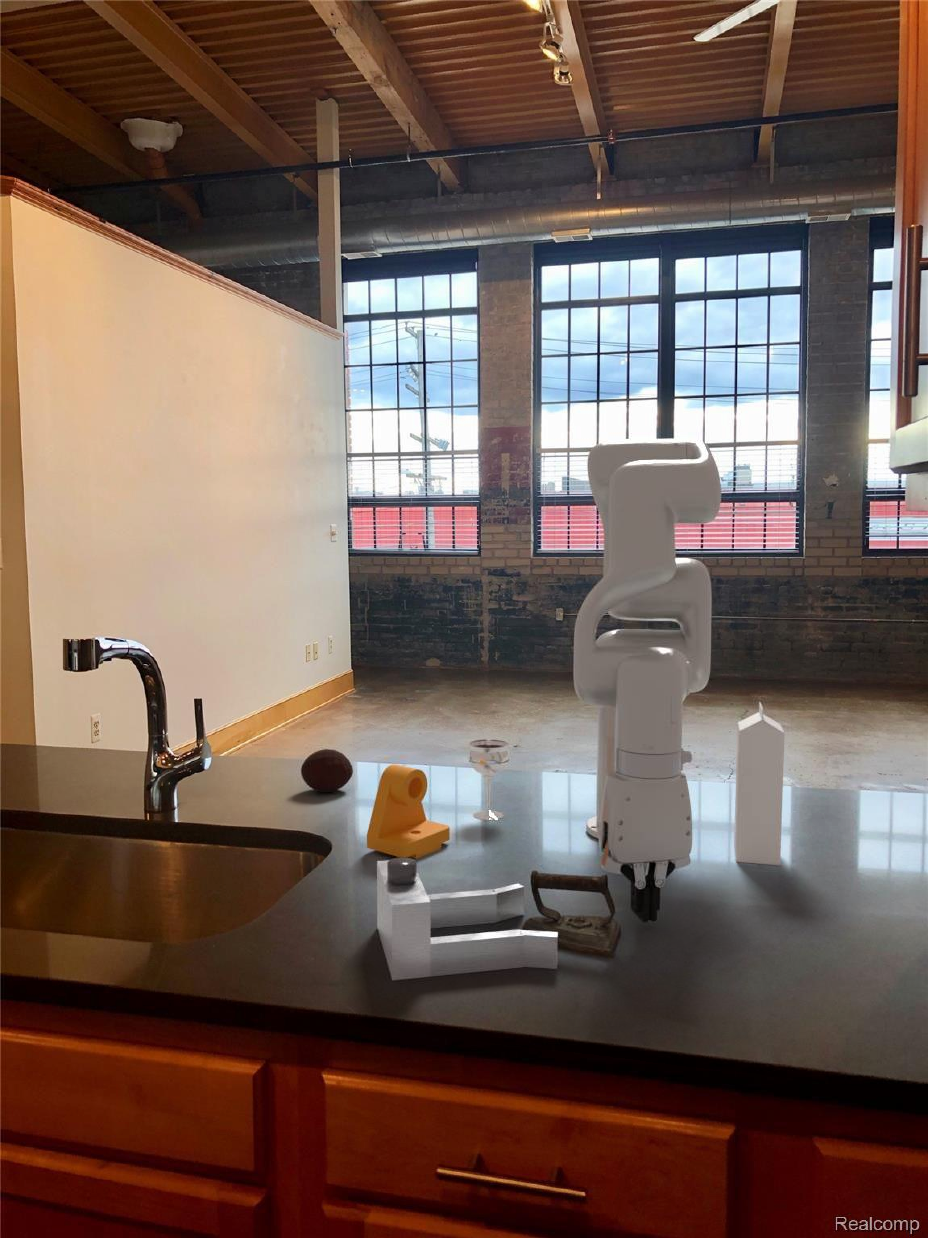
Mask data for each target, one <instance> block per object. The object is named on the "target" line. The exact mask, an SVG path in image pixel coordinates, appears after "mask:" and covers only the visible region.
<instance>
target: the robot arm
mask: <svg viewBox="0 0 928 1238" xmlns="http://www.w3.org/2000/svg"><path fill="white" fill-rule="evenodd" d="M587 477H588V483H589V487H590V491H591V495H592V497H593V500H594V503H595V505H596V508H597V510H598V514H599V516H600V519H601V524H602V527H603V528H602V529H603V566H602V567H603V571H602V572H603V577H602V578H601V579H600V581H598V582H597V584H595V585H594V587H593V588H592V589H591V590H590V592H589V593H588V594H587V595H586V596H585V598H584V601H583V602H582V605H581V607H580V608H579V611H578V613H577V617H576V620H575V624H574V634H573V666H572V667H573V684H574V685H573V686H574V691H575V693H576V695H577V697H578V699H579V701H580V702H582V703H583V704H585V705H587V706H590V707H596V708H597V753H596V755H597V757H596V758H597V759H596V760H597V763H596V815H595V816H593V817H590V818H588V820H587V821H586V823H585V825H586V827H585V830H586V832H587V833H588V834H589V835H590V836H592V837H593V838H595V839H598V847H599V849H600V851H601V852H603V854H602V858H601V862H600V866H601V868H602V869H603V870H604V871H605V872H606V873H609V874H610V873H611V874H617V875H623V876H624V877H625V878H626V879H627V880H628V882H630V909H631V911H632V913H634V915H635V917H637V918H638V919H639V920H640V921H641V922H642V923H648V922H649V921H651V922H657V921H658V912H659V911H660V908H661V907H660V905H661V888H662V887H664V886H665V883H666V879H668V878H669V876H670V875H671V874H672V873H673V871H674V870H678V869H681V868H684V867H688V866H689V865H690V864H691V861H692V860H691V855H690V854H691V852H692V849H693V848H692V847H693V814H692V813H693V812H692V803H691V796H690V789H689V784H688V780H687V776H686V774H685V773H684V772H682V771H684V764H686V763H691V762H692V758H693V755H692V752H691V750H684V748H683V747H682V743H683V741H682V739H683V704H684V701H685V700H686V697H687V696H689V695H690V693H693V694H694V693H697V692H700V691H702V690H703V689H704V688H705V687H706V686H707V685H708V683H709V679H710V673H711V663H712V662H711V659H712V656H711V655H712V603H713V601H712V600H713V599H712V598H713V597H712V581H711V576H710V572H709V570H708V568H707V567H706V565H705V564H704V563H703V562H702V561H700V560H697V559H695V558H690V557H689V558H687V557H676V554H677V553H676V533H675V532H676V531H675V530H676V529H675V525H680V524H682V525H683V524H684V525H687V524H688V525H691V524H692V525H699V524H701V525H703V524H705V525H706V524H708V523H712V521H714V519H716V518H717V516H718V514H719V511H720V509H721V508H720V507H721V502H722V483H721V478H720V471H719V469H718V466H717V463H716V461H715V458H714V456H713V454H712V451H711V449H710V447H709V445H708V444H707V442H705V441H703V440H701V439H695V438H627V439H626V438H625V439H624V438H622V439H614V440H613V439H612V440H608V441H603V442H601V443H598V444H596V445H594V446H593V447H592V448H591V449H590V451H589V453H588V457H587ZM606 614H609V616H610V617H612V618H614V619H619V620H625V621H649V622H651V621H652V622H653V621H654V622H655V621H656V622H657V621H658V622H659V621H660V622H663V621H664V622H675V623H677V624H678V625H679V626H680V629H651V628H650V629H648V628H646V629H645V628H644V629H641V628H632V629H631V628H624V629H623V628H621V629H614V630H610V631H606V632H604V633H602V634H601V635H600V636H599V637H598V638H597V639H596V637H597V635H596V634H597V629H598V625H599V623H600V621H601V619H602V618H603V617H604V616H606ZM644 864H646V869H645V866H644Z"/></svg>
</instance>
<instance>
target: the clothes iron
mask: <svg viewBox="0 0 928 1238" xmlns="http://www.w3.org/2000/svg"><path fill="white" fill-rule="evenodd" d="M530 889H531V893H532V897H533V900H534V903H535V906H536V910H537V911H538V913H539V914H540V915H541V916H532V917H530V918H527V920H525V921H524V923H523V925H522V929H521V930H529V931H546V932H558V948H559V949H563V950H567V951H572V952H575V953H580V954H585V955H589V956H590V955H591V956H597V957H601V958H602V957H603V958H612V957H613V955H614V952H615V951H616V948H617V945H618V942H619V940H620V936H621V933H622V929H621V924H618V921H616V920H615V919H613V918H614V916H615V915H616V905H615V902H614V900H613V897H612V894H611V891H610V888H609V879H608V874H602V875H601V876H593V875H578V874H577V875H576V874H563V873H562V874H560V873H546V872H539V871H538V870H532V871H531V873H530ZM539 889H544V890H556V891H557V890H559V891H569V892H571V891H572V892H585V893H586V892H588V893H599V894H601V895H602V896H604V898H605V902H606V904H607V907H608V911H609V912H610V914H609V916H593V915H592V916H590V915H570V914H569V915H561V914H560V912H559V911H557V910H555V909H554V908H553V909H552V908H550V907H546V906H545V905H544V903H543V901H542V896H541V894H540V891H539Z"/></svg>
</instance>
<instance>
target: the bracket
mask: <svg viewBox="0 0 928 1238" xmlns="http://www.w3.org/2000/svg"><path fill="white" fill-rule="evenodd" d="M427 791H428V778H427V775H426V773H425V772H424V771H423V770H422V769H419V768H414V767H409V766H404V765H399V764H390V765H389V766H387V767H386V768H385V769H384V770H383V772H382V773H381V776H380V779H379V783H378V787H377V792H376V796H375V800H374V805H373V808H372V813H371V816H370V820H369V824H368V829H367V831H366V832H367V833H366V849H370V850H374V851H378V852H379V853H380V852H381V853H384V854H387V855H391V856H395V857H396V858H411V859H414V860H416V859H420V858H422V857H423V856H426V855H429V854H431V853H434V852H436V851H438V850H441V849H442V844H443V843H445V842H448V841H450V830H451V829H450V825H447V824H443V823H440V822H436V821H432V820H429V819H427V817H426V813H425V810H424V806H423V802H422V801H423V800H424V798H425V796H426V795H427Z"/></svg>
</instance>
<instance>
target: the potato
mask: <svg viewBox="0 0 928 1238" xmlns="http://www.w3.org/2000/svg"><path fill="white" fill-rule="evenodd" d="M353 769H354V768H353V765H352V763H351V761H350V760H349V758H347V756H346V755H345V754H344V753H342V752H341V751H339V750H335V749H327V748H326V749H325V748H324V749H321V750H317V751H314V752H312V754H310V755H308V757H306V759H305V760H304V762H303V763H302V765H301V769H300V772H301V773H300V774H301V777H302V780H303V781H304V782H305V784H306V785H307V786H308V787H309V788H310V789H312V790H314V791H317V792H319V793H332V792H335V791H337V790H339V789H341V788H343V787H344V786H346V785H347V784H348V783H349V781H350V780H351V778H352V777H353V774H354V770H353Z"/></svg>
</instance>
